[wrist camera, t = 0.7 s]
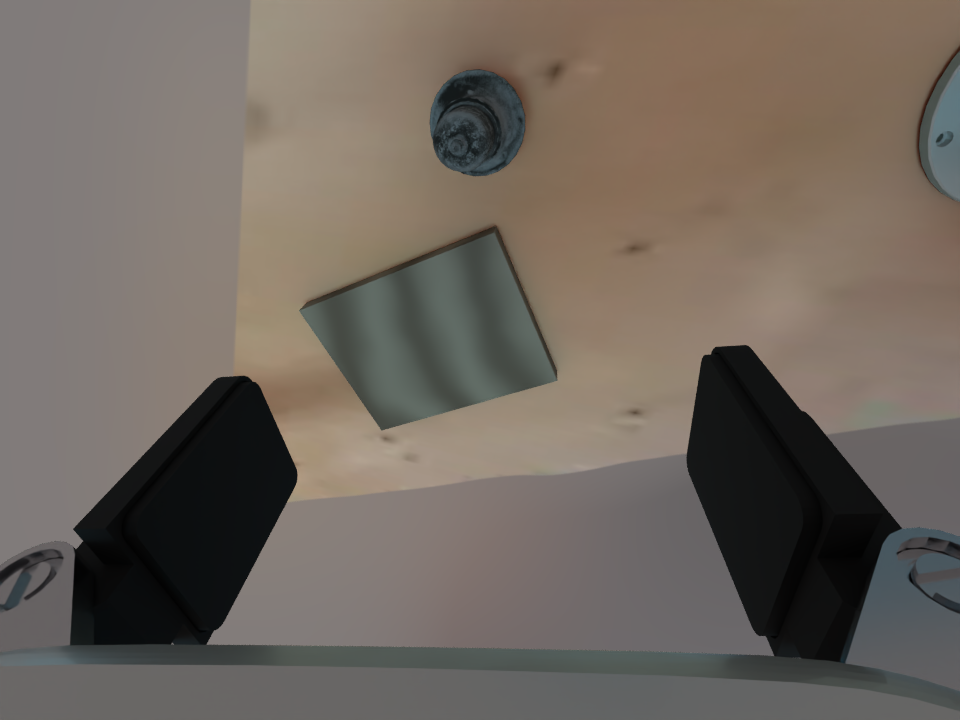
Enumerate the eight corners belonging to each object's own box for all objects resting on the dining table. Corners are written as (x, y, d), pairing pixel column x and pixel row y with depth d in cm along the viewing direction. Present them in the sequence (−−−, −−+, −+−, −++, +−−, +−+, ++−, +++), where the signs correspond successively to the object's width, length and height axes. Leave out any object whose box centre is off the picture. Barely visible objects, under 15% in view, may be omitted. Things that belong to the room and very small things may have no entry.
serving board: (496, 226, 36) (494, 232, 34) (556, 370, 42) (557, 380, 41) (306, 302, 41) (299, 310, 40) (385, 420, 47) (381, 430, 46)
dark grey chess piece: (509, 177, 34) (494, 229, 24) (430, 148, 33) (381, 188, 23) (540, 87, 30) (538, 102, 20) (453, 53, 30) (408, 52, 20)
